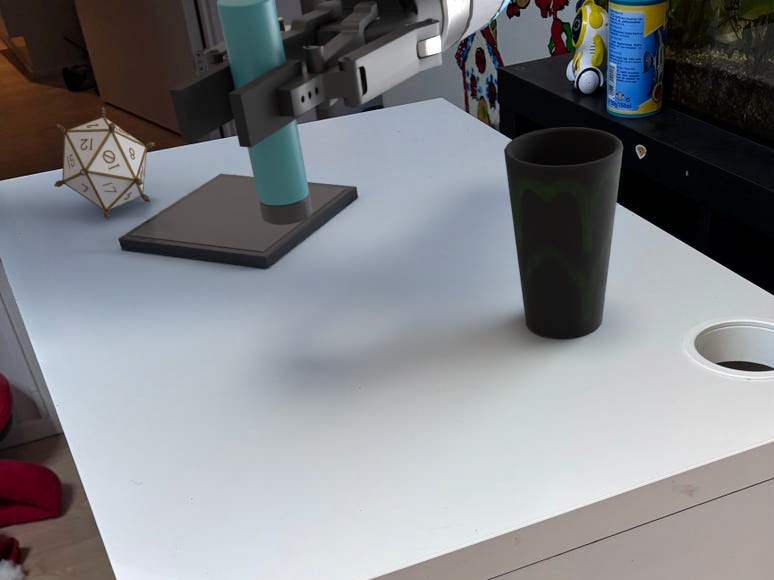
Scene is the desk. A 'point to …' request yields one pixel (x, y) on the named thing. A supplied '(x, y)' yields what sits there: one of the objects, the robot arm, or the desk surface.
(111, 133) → the game die
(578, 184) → the cup
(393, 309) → the desk surface
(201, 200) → the plate
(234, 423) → the desk surface
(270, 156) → the teal cylinder
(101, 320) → the desk surface
